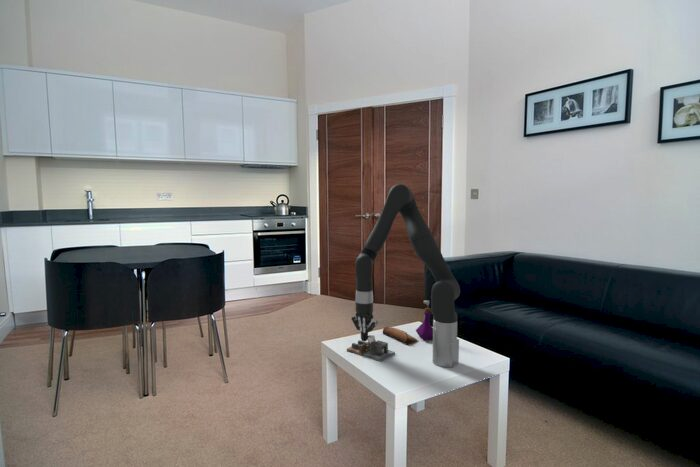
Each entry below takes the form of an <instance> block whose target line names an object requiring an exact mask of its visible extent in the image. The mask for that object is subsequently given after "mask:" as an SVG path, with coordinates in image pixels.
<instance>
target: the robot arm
mask: <svg viewBox="0 0 700 467" xmlns="http://www.w3.org/2000/svg"><path fill="white" fill-rule="evenodd" d="M398 213H399V214H400V215H401V217H402V219H403V221H404V224H405V228H406V233H407V235H408V239H409V242H410V244H411V247H412V249H413V250H414V252H415V254H416V256H417V257H418V259H419V260H420V261H421V262H423V264H424V265H425V267H426V268H428V270H429V271H430V273H431V274H432V277H433V279H434V281H435V283H434V284H433V285H432V287H431V294H430V301H431V302H430V303H431V304H430V306H431V312H432V314H431V315H432V317H433V318H432V328H433V339H432V363H433V364H434V365H436V366H439V367H441V368H442V367H445V368H446V367H447V368H453V367H455V366H457V365H458V364H460V363H459V360H460V358H459V357H460V339H459V338H458V314H457V312H456V310H455V301H456V300H457V299H458V298H459V297H460V295H461V288H460V284H459V283H458V281H457V279H456V278H455V276H454V275H453V273H452V271H451V270H450V268H449V266H448V264H447V262H446V260H445V259H444V256H443V254H442V252H441V250H440V247H439V246H438V243H437V241H436V239H435V237H434V235H433V233H432V232H431V229H430V227H429V226H428V224H427V222H426V221H425V219H424V217H423V216H422V214H421V213H420V210H419V207H418V204H417V203H416V198H415V196H414V193H413V191H412V190H411V189H410V188H409V187H408V186H406V185H405V184H402V183H398V184H394V185H393V186H392V187H391V188H390V189H389V190H388V193H387V197H386V199H385V202H384V205H383V208H382V209H381V213H380V215H379V216H378V218H377V221H376V223H375V224H374V227H373V228H372V231H371V232H370V234H369V236H368V238H367V240H366V241H365V244H364V247H363V248H362V249H361V251H360V253H359V255H358V256H357V258H356V259H355V266H354V269H355V277H356V278H355V279H356V280H355V282H356V283H355V288H356V289H355V316H352V317H351V321H352V324H354V326H355V329H356V330H357V331H359V332H360V339H361V341H364V342H368V336H369V333H370V332H372V331H373V330H374V329H375V328H376V326H377V325H378V320H375V318H374V314H373V312H374V292H373V291H374V290H373V285H374V284H373V271H372V270H373V264H374V263H375V261H376V259H377V257H378V254H379V252H380V251H381V250H382V249H383V247H384V244H385V243H386V241H387V240H388V237H389V235H390V232H391V230H392V226H393V224H394V221H395V220H396V217H397V215H398Z"/></svg>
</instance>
